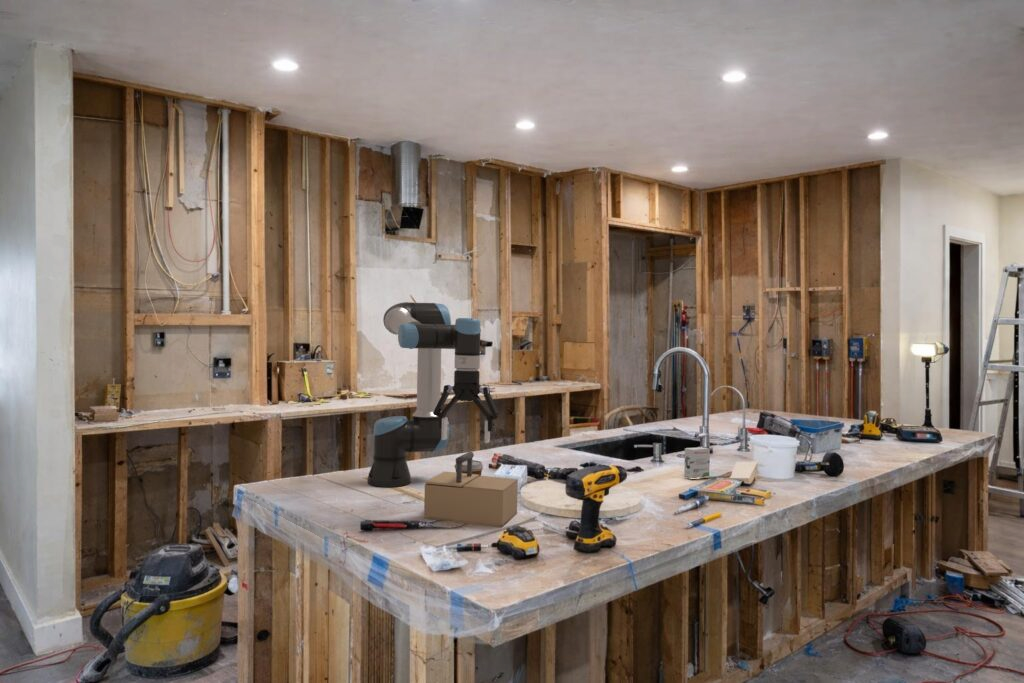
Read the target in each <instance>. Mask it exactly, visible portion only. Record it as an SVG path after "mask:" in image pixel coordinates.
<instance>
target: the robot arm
mask: <svg viewBox="0 0 1024 683" xmlns="http://www.w3.org/2000/svg"><path fill="white" fill-rule="evenodd" d="M382 321H383V325H384V327H385V329H386V330H387V331H388V332H389V333H390V334H392V335H395V336H397V341H398V342H397V343H398V345H399V347H400V348H402V349H409V350H413V349H417V363H416V364H417V369H416V370H417V373H416V375H417V376H416V410H415V412H413V413H412V415H411V417H412V419H408V418H407V416H405V415H395V416H394V415H393V416H388V417H383V418H380V419H378V420H376V421H375V423H374V425H373V426H374V427H373V455H372V456H373V458H372V460H373V461H372V464H371V467H370V470H369V472H368V476H367V483H368V485H370V486H374V487H378V488H380V487H381V488H396V487H403V486H407V485H410V484H411V482H412V481H411V480H412V477H411V472H410V468H409V466H408V462H407V454H408V453H425V452H426V453H428V452H429V453H434V452H441V451H444V449H445V448H446V447H447V444H448V441H449V438H450V422H449V420H448V419H449V418H448V417H447V416H446V415H447V414H449V412H450V411H451V410H452V408H454V407H455V405H456V404H457V403H458V401H459V402H465V401H466V402H473V403H474V404H475V405H476V406H477V407H478V409H479V410H480V411H481V413H482V414H483V416H485V418H486V420H484V441H483V442H484V443H485V444H488V443H490V441H491V433H492V432H493V431H494V420H496V419H499V418H500V413H499V411H498V408H497V406H496V404H495V402H494V400H493V398H492V396H491V390H490V386H483V387H481V386H480V371H479V369H480V367H481V364H480V362H481V359H480V358H481V356H480V355H481V353H480V352H481V333H482V329H481V320H480V319H479V318H475V317H471V318H470V317H458V318H455V323H454V324H452V319H451V314H450V311H449V308H448V307H447V306H446V304H443V303H435V302H410V301H409V302H408V301H405V302H399V303H395V304H394V305H391V306H390V307H389V308H388V309H386V310H385V313H384V314H383V320H382ZM443 349H445V350H454V369H456V370H454V373H453V377H454V378H453V381H454V382H453V385H450V384H446V385H444V386H443V391H442V393H441V389H442V388H441V387H442V386H441V384H442V378H441V377H442V350H443ZM452 391H453V393H454V395H453V397H452V398H451V399H450V401H449V402H448V403H447V404H446V406H445V403H446V402H447V400H448V397H449V395H450V393H452ZM480 393H481V394H482V395H483V397H484V399H485V401H486V404H487V405H488V406H486V405H485V404H484V403H485V402H483V401H482V398H481V397H480V396H479V394H480ZM444 406H445V407H444ZM487 407H488V408H489V409H488V408H487Z"/></svg>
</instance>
